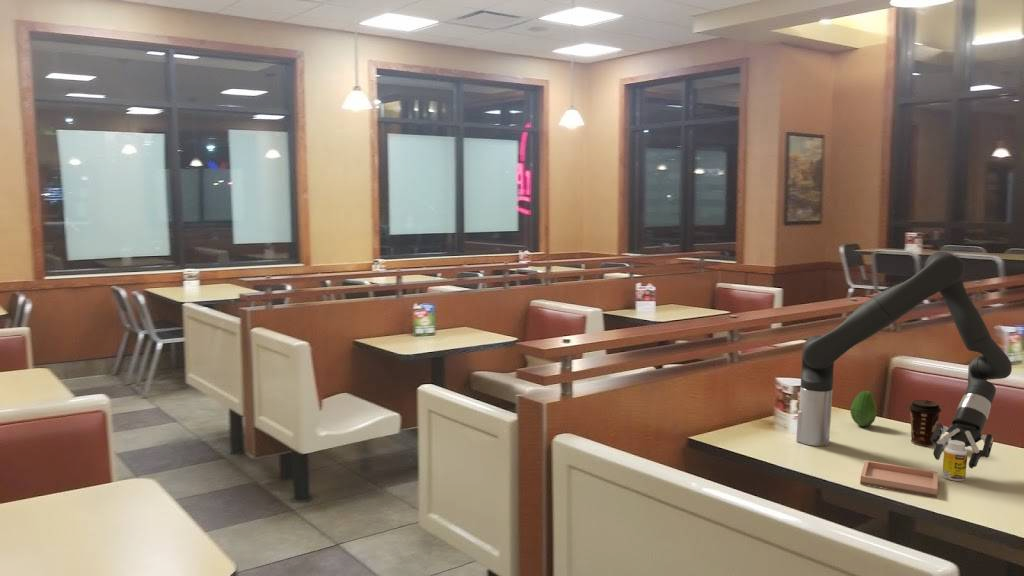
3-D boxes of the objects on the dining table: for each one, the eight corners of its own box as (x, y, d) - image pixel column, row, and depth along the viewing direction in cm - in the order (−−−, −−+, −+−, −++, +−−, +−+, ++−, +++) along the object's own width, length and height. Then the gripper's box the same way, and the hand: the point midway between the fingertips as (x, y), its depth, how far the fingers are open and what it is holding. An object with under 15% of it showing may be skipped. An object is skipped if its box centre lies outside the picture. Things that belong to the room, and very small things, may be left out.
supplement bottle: (952, 482, 207) (956, 446, 206) (937, 475, 212) (940, 439, 211) (970, 481, 208) (973, 444, 207) (954, 473, 214) (957, 438, 212)
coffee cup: (931, 439, 243) (934, 399, 241) (943, 448, 235) (946, 407, 233) (902, 438, 244) (905, 398, 242) (913, 447, 236) (916, 405, 234)
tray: (860, 484, 205) (860, 476, 205) (864, 467, 217) (865, 460, 217) (936, 497, 197) (937, 489, 196) (936, 479, 209) (937, 471, 208)
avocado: (878, 425, 257) (880, 390, 256) (872, 430, 251) (874, 395, 250) (852, 420, 262) (855, 386, 261) (846, 426, 256) (848, 391, 254)
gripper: (941, 400, 218) (922, 448, 212) (998, 412, 207) (979, 462, 201) (947, 415, 222) (928, 462, 216) (1003, 427, 212) (985, 476, 206)
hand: (953, 462), depth 209 cm, fingers open, 8 cm apart
